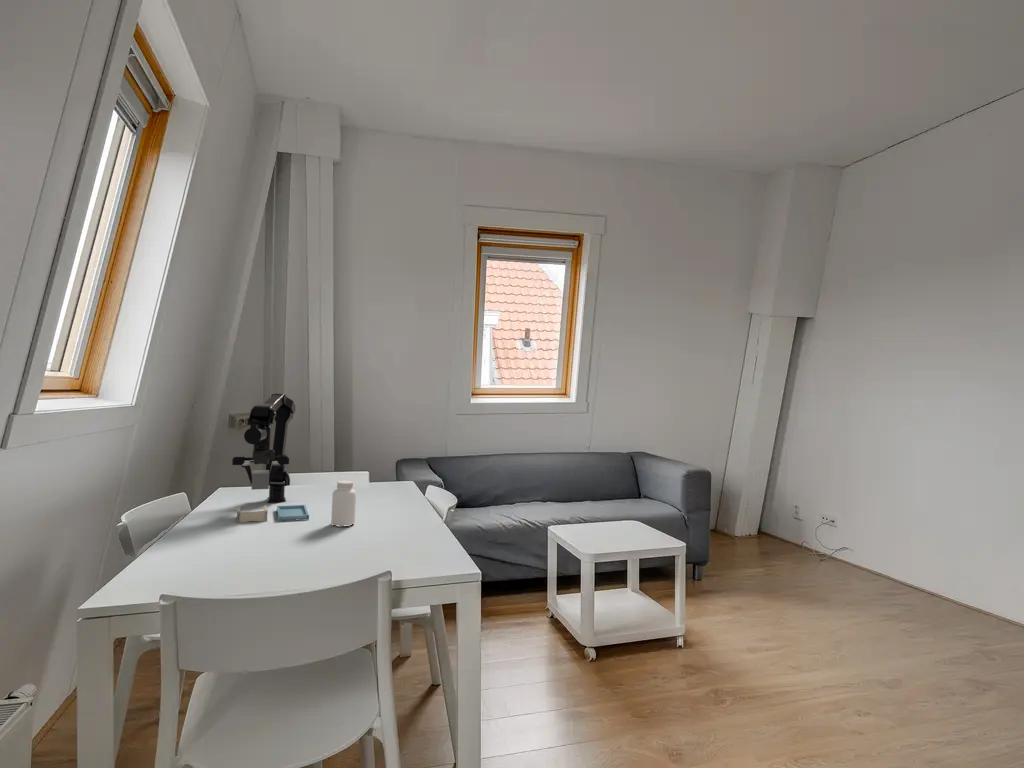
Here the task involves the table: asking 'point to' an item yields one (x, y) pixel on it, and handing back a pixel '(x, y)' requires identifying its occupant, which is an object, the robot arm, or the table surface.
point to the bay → (251, 515)
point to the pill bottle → (343, 504)
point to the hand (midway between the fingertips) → (260, 483)
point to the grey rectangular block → (260, 479)
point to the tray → (292, 512)
